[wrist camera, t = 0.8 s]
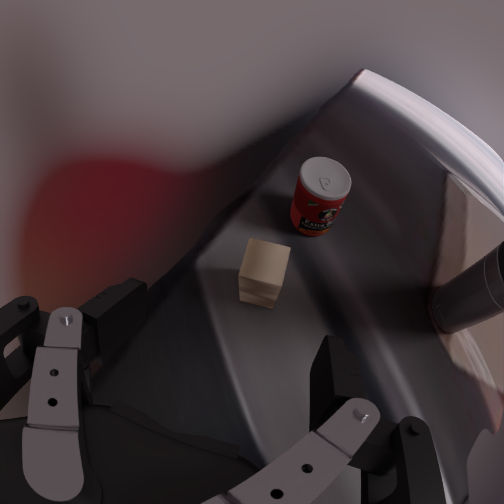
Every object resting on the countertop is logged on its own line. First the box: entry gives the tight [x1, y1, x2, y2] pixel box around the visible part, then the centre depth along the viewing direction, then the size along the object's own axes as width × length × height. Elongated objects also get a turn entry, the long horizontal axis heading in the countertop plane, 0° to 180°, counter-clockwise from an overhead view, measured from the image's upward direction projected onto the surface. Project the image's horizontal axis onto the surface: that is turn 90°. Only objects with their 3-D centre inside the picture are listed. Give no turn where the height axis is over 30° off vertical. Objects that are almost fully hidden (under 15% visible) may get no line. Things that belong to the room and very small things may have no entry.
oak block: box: [238, 238, 291, 309], centre depth 36 cm, size 5×5×10 cm
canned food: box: [290, 157, 351, 236], centre depth 41 cm, size 8×8×11 cm
